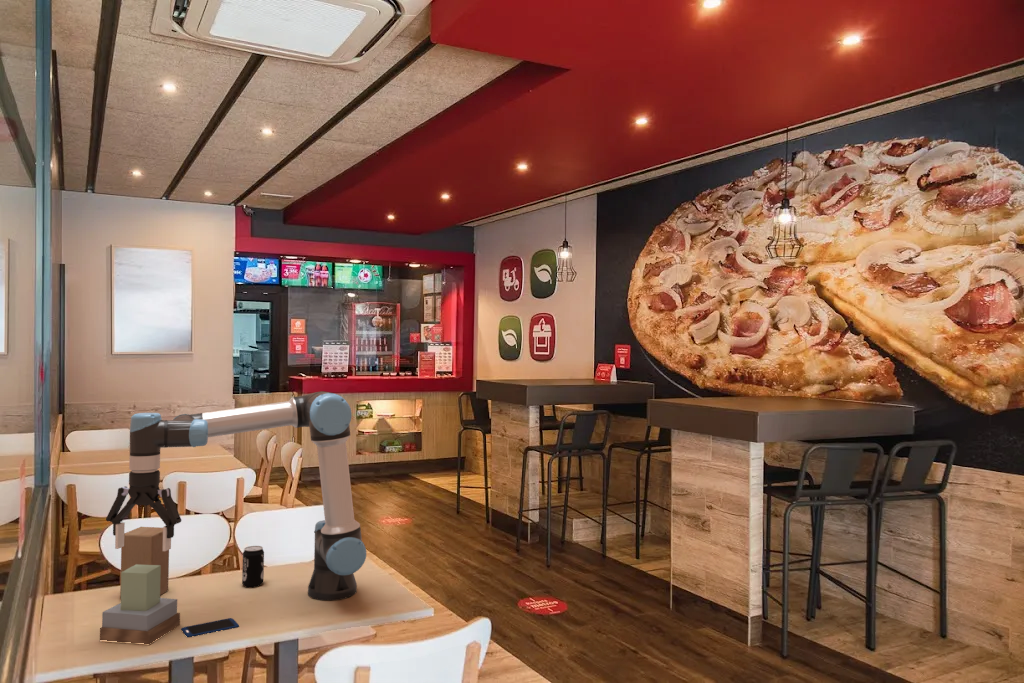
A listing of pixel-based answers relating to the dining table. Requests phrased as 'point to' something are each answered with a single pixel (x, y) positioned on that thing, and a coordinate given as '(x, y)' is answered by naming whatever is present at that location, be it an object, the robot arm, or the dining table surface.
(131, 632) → the walnut base block
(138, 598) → the sage block
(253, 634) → the dining table surface
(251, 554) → the beverage can
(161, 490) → the robot arm
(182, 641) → the dining table surface
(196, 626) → the cell phone
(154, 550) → the wooden block
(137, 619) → the slate top block
